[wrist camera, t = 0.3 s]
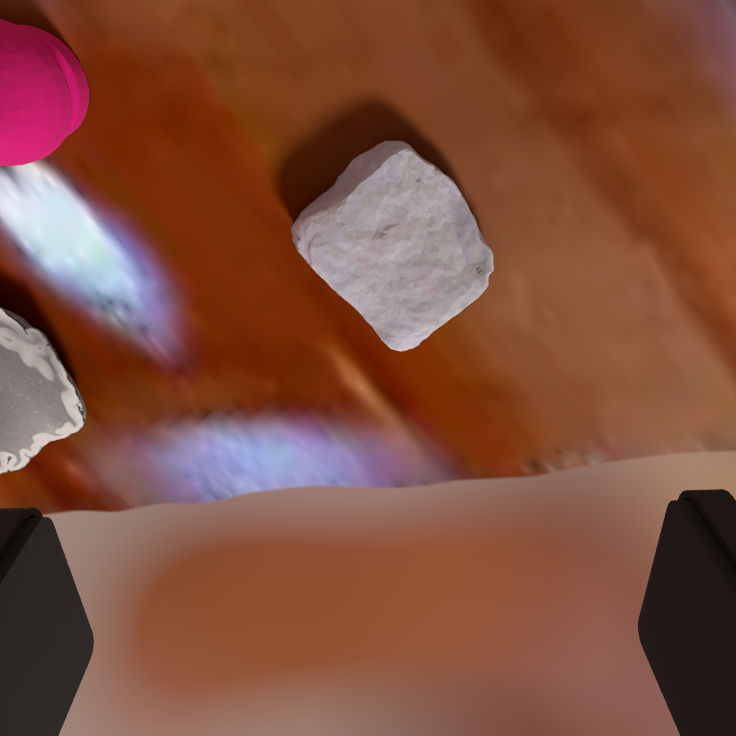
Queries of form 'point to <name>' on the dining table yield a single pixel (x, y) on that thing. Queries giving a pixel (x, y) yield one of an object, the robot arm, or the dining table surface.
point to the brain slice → (32, 393)
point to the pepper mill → (37, 93)
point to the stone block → (396, 243)
